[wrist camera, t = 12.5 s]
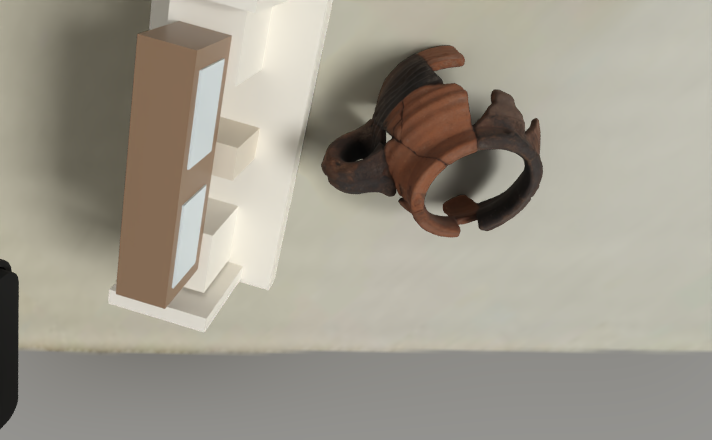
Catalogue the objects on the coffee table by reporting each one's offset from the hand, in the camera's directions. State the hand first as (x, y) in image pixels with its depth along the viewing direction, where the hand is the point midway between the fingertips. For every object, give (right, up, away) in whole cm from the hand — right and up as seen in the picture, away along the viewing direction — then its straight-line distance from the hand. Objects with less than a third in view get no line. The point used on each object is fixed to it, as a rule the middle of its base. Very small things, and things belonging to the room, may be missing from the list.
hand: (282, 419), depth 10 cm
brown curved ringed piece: (+6, +9, +29) cm, 31 cm away
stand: (-7, +9, +31) cm, 33 cm away
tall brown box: (-8, +7, +25) cm, 28 cm away
